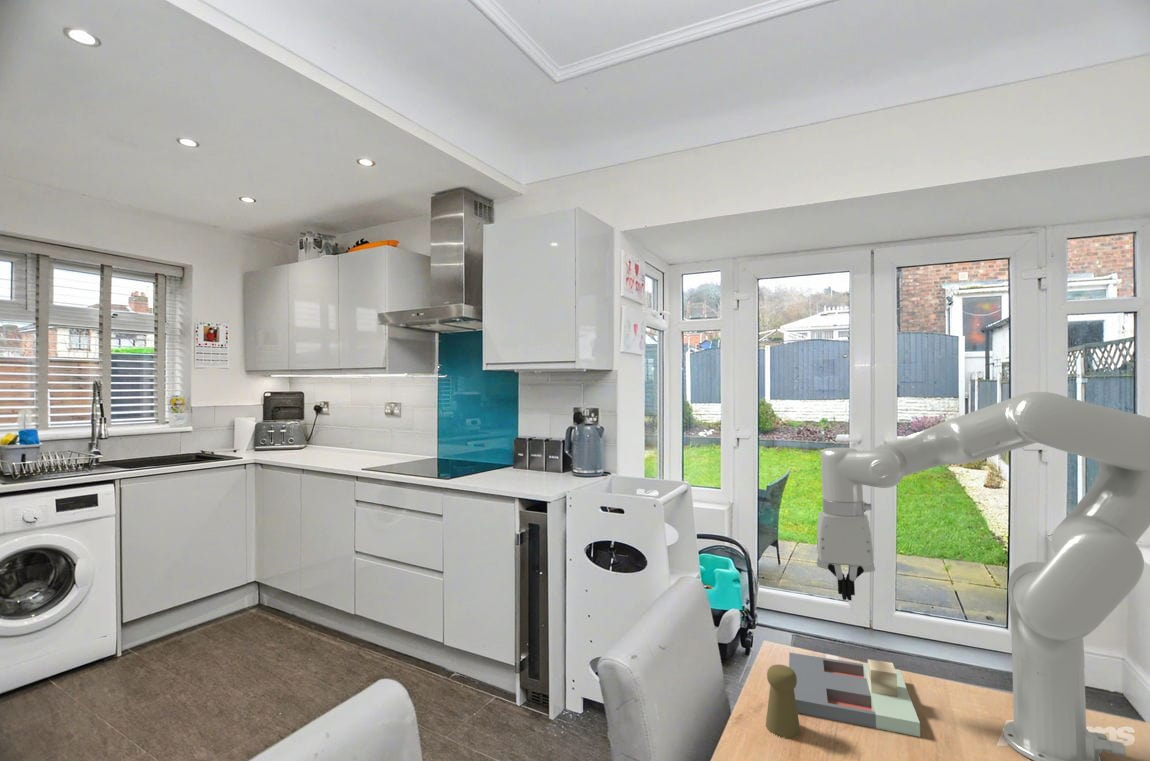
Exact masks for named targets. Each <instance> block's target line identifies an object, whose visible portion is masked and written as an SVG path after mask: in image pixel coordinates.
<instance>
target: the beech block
mask: <svg viewBox="0 0 1150 761" xmlns="http://www.w3.org/2000/svg"><path fill="white" fill-rule="evenodd" d="M867 665H868V682H869V686H870V690H871V693H877V694H883V695H889V696H894V697H897V673H896V670H895V669H896V668H895V666H894V664H893V662H888V661H883V660H875V659H869V658H867Z"/></svg>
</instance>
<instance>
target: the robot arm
mask: <svg viewBox="0 0 1150 761" xmlns="http://www.w3.org/2000/svg"><path fill="white" fill-rule="evenodd" d="M1037 443H1038V444H1040V445H1043V446H1047V447H1050V448H1053V449H1056V450H1058V451H1062V452H1066V453H1070V454H1073V455H1075V456H1078V457H1079V456H1080V457H1083V458H1087V459H1090V460H1094V461H1097V462H1098V472H1097V476H1096V478H1095V480H1094V482H1093V483H1092V485H1091V486H1090V488H1089V489H1088V491H1087V492H1086V493H1085V494H1084V496H1082V498H1081V499H1080V500H1079V501H1078V503H1077V504H1076V505H1075V506H1074V508H1072V510H1071V511H1070V512H1069V513H1068V515H1066V517H1065V518H1064V519H1063V520H1062V521H1061V522H1060V523H1059V524H1058V525H1057V526H1056V527H1055V529H1054V530H1053V532H1052V534H1051V539H1050V541H1051V546H1052V549H1053V552H1054V554H1053V555H1052V556H1051V557H1050V559H1049V560H1048V562H1042V561H1031V562H1025V563H1023V564H1021V565H1019V566H1018V567H1016V568H1015V569H1014V570H1013V571H1012V573H1011V575H1010V576H1009V579H1008V584H1007V595H1008V604H1009V616H1010V632H1011V634H1010V635H1011V664H1012V665H1011V666H1012V668H1011V669H1012V695H1013V696H1012V699H1013V721H1009V722H1007V723H1005V724H1004V726H1003V728H1002V729H1003V737H1004V740H1005V741H1006V742H1007V743H1008V745H1009V746H1010V747H1012V748H1013V749H1014V750H1015V751H1016V752H1018V753H1020V754H1021V755H1022V756H1024V757H1026V758H1028V759H1030V760H1032V761H1101V756H1100V755H1099V754H1102V752H1103V753H1109V754H1110V755H1116V756H1120V757H1121V756H1123V757H1126V756H1127V750H1126V746H1125V745H1124V743H1123V742H1120V741H1115V740H1109V739H1108V737H1107V735H1106V734H1105V733H1102V732H1096V731H1095V732H1092V731H1089V730H1088V729H1087V710H1086V709H1087V708H1086V705H1087V704H1086V680H1085V679H1086V676H1085V662H1086V661H1085V647H1084V638H1085V637H1087V636H1088V635H1090V634H1091V633H1093V632H1094V631H1095V630H1096V629H1097V628H1098V627H1099V626H1100V625H1101V624H1102V623H1103V622H1104V621H1105V620H1106V619H1107V618H1108V616H1110V615H1111V613H1112V612H1113V611H1114V610H1115V609H1116V608H1117V607H1118V606H1119V605H1120V604H1121V603H1122V602H1123V601H1124V600H1125V598H1127V596H1128V595H1129V594H1130V593H1131V592H1132V590H1133V589H1135V587H1136V586H1137V584H1138V583H1139V581H1140V579H1141V577H1142V575H1143V572H1144V567H1145V562H1144V561H1145V560H1144V557H1143V553H1142V551H1141V549H1140V547H1139V546H1138V545H1137V542H1138V541H1139V539H1140V538H1141V537H1142V536H1143V535H1144V534H1145V532H1146V531H1147V530H1148V529H1149V528H1150V417H1149V416H1145V415H1140V414H1138V413H1137V414H1136V413H1132V412H1128V411H1123V410H1119V409H1116V408H1112V407H1109V406H1103V405H1099V404H1095V403H1090V402H1086V401H1084V400H1080V399H1076V398H1073V397H1069V396H1065V395H1062V394H1059V393H1058V394H1057V393H1054V392H1048V391H1032V392H1031V391H1030V392H1026V393H1022V394H1019V395H1017V396H1013V397H1011V398H1008V399H1004V400H1003V401H1002V400H1001V401H1000V402H996V403H994V404H991V405H988V406H986V407H982V408H980V409H977V410H974V411H971V412H968V413H965V414H963V415H960V416H957V417H954V418H952V419H948V420H946V421H943V422H939V423H938V424H936V425H933V426H932V427H928V428H927V429H923V430H921V431H917V432H915V433H912V434H908V435H906V436H903V437H901V438H897V439H894V440H892V441H888V442H886V443H883V444H880V445H877V446H875V447H873V448H872V449H870V450H862V451H861V450H860V451H859V450H858V449H855V448H851V447H826V448H824V449H823V450H822V451H821V453H820V468H821V469H820V470H821V491H822V493H821V495H822V511H819V513H818V517H817V518H818V519H817V530H816V534H817V536H816V537H817V538H816V546H817V547H816V548H817V550H816V551H817V559H816V565H817V567H818V568H822V569H825V570H828V571H830V572H831V573H832V574H833V575H834V577H836V579H837V591H838V592H837V593H838V595H841V597H842V600H843V601H846V600H847V601H851V602H852V600H853V599H852V596H855V595H856V592H855V591H856V590H855V581H856V580H857V578H858V577H860V576H861V575H862V574H864V573H872V572H876V567H875V565H874V549H873V540H872V533H871V529H870V521H869V517H868V515H867V514H866V513H865V512H867V511H872V503H867V502H865V501H864V496H863V486H868V487H873V488H878V489H879V488H880V489H888V488H889V489H890V488H893V487H896V486H897V485H898V484H900V483H901V482H902V480H903V478H904V477H907V476H909V475H912V474H916V473H919V472H922V471H926V470H928V469H929V470H930V469H932V468H937V467H941V466H948V465H966V464H971V463H976V462H980V461H982V460H985V459H988V458H992V457H995V456H998V455H1001V454H1003V453H1007V452H1011V451H1013V450H1016V449H1021V448H1024V447H1026V446H1031V445H1033V444H1037ZM842 566H848V572H847V574H846V576H845V574H844V572H843V570H842Z"/></svg>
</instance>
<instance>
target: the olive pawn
mask: <svg viewBox="0 0 1150 761" xmlns="http://www.w3.org/2000/svg"><path fill="white" fill-rule="evenodd" d="M766 679H767V682H768V684H769V685H770V686H769V692H768V693H769V694H768V702H767V711H766V718H765V719H766V720H765V728H766V727H767V728H766V729H768V730H769V731H768V730H767V731H768V732H769V733H771V734H772V733H773V735H774V734H775V735H774V736H776V735H777V736H776V737H779V736H780V737H779V738H782V737H785V738H784V739H795V738H797V737H799V736H800V734H801V727H800V720H799V713H797V706H796V700H795V693H794V688H795V687H796V684H797V677H796V674H795V672H794V671H793V670H792V669H791V668H789V666H787V665H784V664H773V665H771V666H769V668H768V669H767V672H766ZM794 737H795V738H794Z"/></svg>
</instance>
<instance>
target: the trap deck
mask: <svg viewBox="0 0 1150 761" xmlns="http://www.w3.org/2000/svg"><path fill="white" fill-rule="evenodd" d="M788 654H789V655H788V656H789V658H788V660H789V661H788V667H789V668H791V669H792V670H793V671H794V672H795V674H796V677H797V684H796V687H795V688H794V693H795V700H796V706H797V713H798V714H800V713H802V714H801V715H805V714H806V716H810V715H811V717H816V718H821V719H826V720H831V721H836V722H840V723H841V722H843V723H848V724H850V725H851V724H853V725H856V726H857V725H858V726H862V727H868V728H872V729H877V730H884V731H888V732H893V733H899V734H903V735H907V736H914V737H918V738H920V737H921V725H920V724H921V722H920V720H919V717H918V715H917V711H916V709H915V707H914V705H913V704H914V703H913V702H912V699H911V696H910V692H909V691H908V689H907V685H906V683H905V680H904V678H903V675H902V672H901V670H900V669H896V668H895V670H896V673H897V697H894V696H889V695H883V694H877V693H871V690H870V686H869V682H868V664H867V663H861V662H858V663H857V662H852V661H846V660H841V659H833V658H828V657H827V658H826V657H820V656H814V655H807V654H801V653H795V652H788ZM898 671H900V672H898Z"/></svg>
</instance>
